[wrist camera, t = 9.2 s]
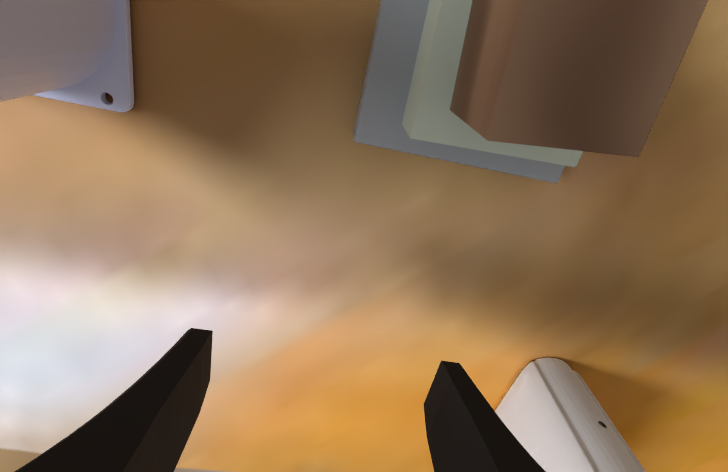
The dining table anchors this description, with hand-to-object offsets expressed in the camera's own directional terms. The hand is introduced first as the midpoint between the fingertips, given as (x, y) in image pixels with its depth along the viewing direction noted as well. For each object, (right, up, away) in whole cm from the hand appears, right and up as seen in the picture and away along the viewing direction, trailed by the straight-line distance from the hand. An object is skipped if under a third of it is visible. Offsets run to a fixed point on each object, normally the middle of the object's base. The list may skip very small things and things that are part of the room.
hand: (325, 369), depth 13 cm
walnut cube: (+7, +11, +2) cm, 13 cm away
